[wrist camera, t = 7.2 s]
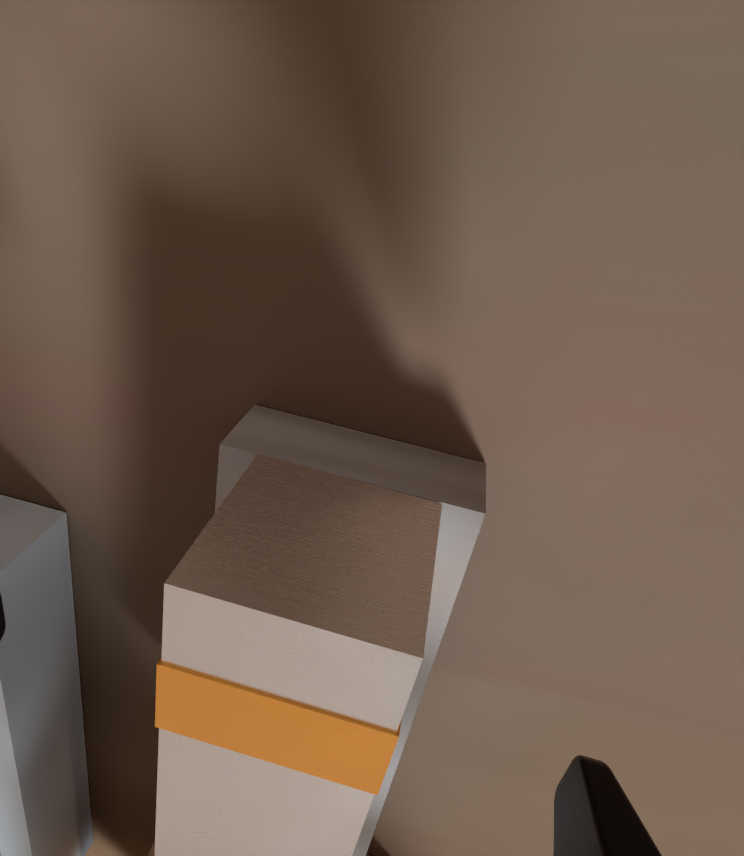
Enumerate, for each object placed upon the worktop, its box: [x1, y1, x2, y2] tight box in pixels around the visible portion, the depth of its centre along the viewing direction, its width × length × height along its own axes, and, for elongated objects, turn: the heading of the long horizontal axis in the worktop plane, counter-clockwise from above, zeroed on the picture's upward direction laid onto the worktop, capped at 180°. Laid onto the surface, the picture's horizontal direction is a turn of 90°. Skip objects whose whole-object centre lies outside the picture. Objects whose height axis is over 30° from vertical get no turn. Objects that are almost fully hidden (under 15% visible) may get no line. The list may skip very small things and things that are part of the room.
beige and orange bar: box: [154, 454, 442, 856], centre depth 13 cm, size 12×4×4 cm, turn 169°
